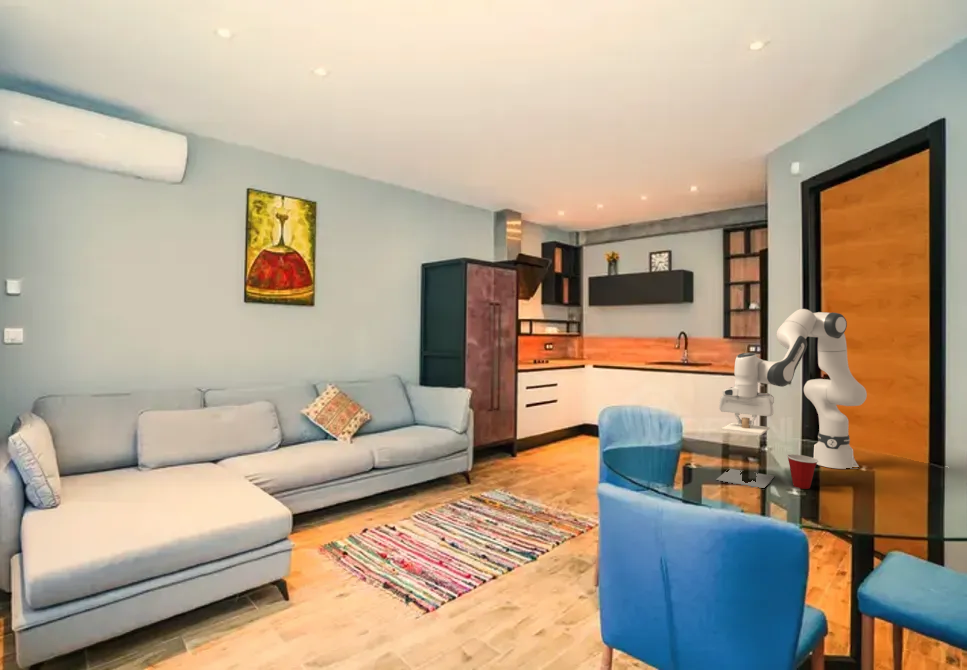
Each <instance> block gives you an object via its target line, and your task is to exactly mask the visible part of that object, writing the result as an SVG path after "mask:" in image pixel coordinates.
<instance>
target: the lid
mask: <svg viewBox="0 0 967 670" xmlns="http://www.w3.org/2000/svg"><path fill="white" fill-rule="evenodd" d="M741 420H742V424H738V422H730V423H728V424H727V425H725V426H723V427H721V431H727V432H733V433H734V432H735V433H742V434H743V433H744V434H750V435H758V436H762V435H763V434H765V433H766V432H768V431H769V430H770V426H763V425H755V424H754V425H753V426H752V425H749V421H750V420H751V418H750V417H741Z"/></svg>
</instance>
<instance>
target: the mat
mask: <svg viewBox="0 0 967 670" xmlns="http://www.w3.org/2000/svg"><path fill="white" fill-rule="evenodd" d="M729 469H730V470H729V471H728V472H726V471H724V472H723V473H722V474H721V475H719V476H718V477H717V478H716V479H715V481H716V480H719V481H718V482H720V481H723V482H722V483H725V482H728V483H727V484H731V483H733V484H732V485H736V484H741V485H740V486H742V485H748V486H751V487H750V488H753V487H759V488H765V487H766V486H767V485H768V484H770V483H771V482H772V481H773V480H774V479H775V478H774V477H776V475H772V474H771V475H770V474H765V473H758V472H755V473H756V476H757V477H756V482H755V481H753V480H752V481H751V482H748V483H745V482H744V481H742V474H741V475H740V473H741V472H742V471H743V470H741V469H740V470H739V469H734V468H729ZM740 471H741V472H740ZM757 473H758V474H757ZM773 478H774V479H773ZM772 479H773V480H772ZM771 480H772V481H771ZM770 481H771V482H770ZM768 486H769V485H768ZM768 486H767V487H768ZM767 487H766V488H767ZM766 488H765V489H766Z"/></svg>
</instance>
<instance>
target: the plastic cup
mask: <svg viewBox="0 0 967 670" xmlns="http://www.w3.org/2000/svg"><path fill="white" fill-rule="evenodd" d="M786 457H787V460H788V464H789V465H788V466H789V469H790V470H789V471H790V477H791V480H792V485H793V487H795V488H796V489H802V490H803V489H804V490H805V489H806V490H808V489H811V485H812V481H813V477H814V473H815V469H816V466H817V465H818V464H817V462H818V460H817V459H815V458H813V457H812V456H808V455H803V454H792V453H790V454H787V455H786Z"/></svg>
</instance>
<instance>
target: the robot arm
mask: <svg viewBox="0 0 967 670" xmlns="http://www.w3.org/2000/svg"><path fill="white" fill-rule="evenodd" d="M847 326H848V322H847V319H846V317H845V316H844V315H843V314H842V313H838V312H826V311H825V312H821V311H818V312H813V311H811V310H809V309H807V308H800V309H796V310H795V311H794V312H792V313H791V314H790V315H789V316H788V317H787V318H786V319H785V320H784V321H783V322H782V324H781V325H780V326H779V327H778V329H777V331H776V339H777V341H778V342H779V344H780V345H782V347H783V348H785V349H788V350H787V352H786V353H785V355H784V357H783V358H782V359H780V360H777V361H773V360H772V361H771V360H764V359H761V358H760V357H758V356H757V354H756V353H754V352H741V353H739V354H737V355H736V358H735V362H734V369H733V370H734V377H735V379H734V386H732V387H729V388H724V389H722V391H721V394H722V396H721V397H720V399H719V406H718V407H719V408H718V409H719V411H720V412H722V413H732V414H734V417H735V418H736V420H737V423H738V424H742V418H740V415H741V414H743V415H751V417H752V420H751V419H750V421H749V425H752V426H753V425H755V420H756V419H757V417H758V416H761V417H763V416H764V417H772V416H773V415H774V405H773V404H774V403H775V397H774V396H773V395H772V394H771V393H768V392H767V393H766V392H765V393H763V392H759V384H758V383H760V384H765V385H766V384H767V385H773V386H777V387H782V388H783V387H786V386H788V385H789V384H790V383H791V382H792V380H793V379H794V376H795V373H796V370H797V368H798V365H799V364H800V362H801V360H802V359H803V356H804V354H805V353H806V350H807V348H808V347H807V346H808V341H807V338H808V337H809V338H817V364H818V368H819V369H820V370H821V371H823V372H824V373H826V374H827V375H828V377H829V379H828V378H827V379H825V378H824V379H823V378H815V379H809V380H807V381H806V382H805V384H804V386H803V393H804V396H805V397H806V398H807V399H808V400H809V401H810V402H811V403H812V405H813V406H814V407H815V409H816V413H817V414H818V415H817V417H818V425H819V429H818V430H819V431H818V433H817V440H818V441H817V442H816V443H815V444H814V445H813V446H814V447H813V457H812V458H815V459H817V460H818V462H817V464H816V465H818V466H822V467H826V468H830V469H831V468H832V469H839V470H847V469H846V468H850V469H853V468H852V467H859V468H860V466H859V464H858V463H857V461H856V459H855V456H854V449H853V448H852V447H851V445H850V443H851V442H850V441H851V438H850V435H849V419H848V417H847V415H845V414H844V413H842V412H841V411H840V409H839V408H838V406H844V407H857V406H861V405H863V404H864V402H866V400H867V395H868V394H867V390H866V387H864V385H862V384H861V383H860V382H858V380H857V379H856V378H855V377H854V376H853V374H852V372H851V370H850V367H849V361H848V346H847V339H846V334H845V333H846V330H847Z"/></svg>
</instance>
